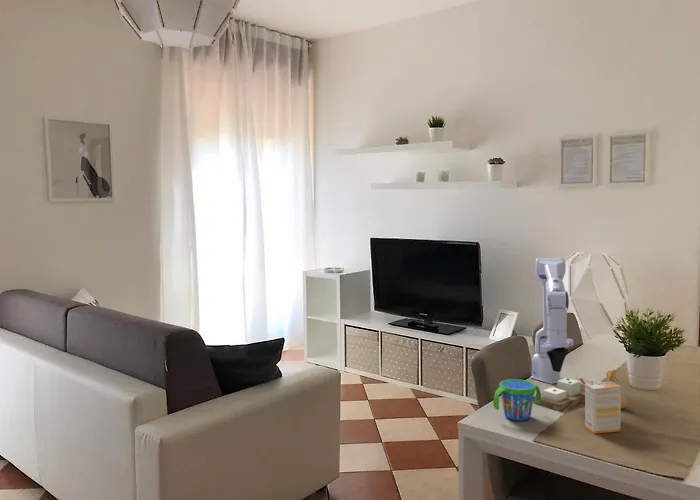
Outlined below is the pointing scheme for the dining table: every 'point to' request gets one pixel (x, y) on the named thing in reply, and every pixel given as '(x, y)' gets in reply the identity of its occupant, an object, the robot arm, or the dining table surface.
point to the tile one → (554, 394)
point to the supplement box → (602, 407)
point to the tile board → (562, 401)
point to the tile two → (569, 386)
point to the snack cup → (517, 398)
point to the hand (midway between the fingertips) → (556, 371)
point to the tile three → (583, 383)
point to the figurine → (612, 379)
